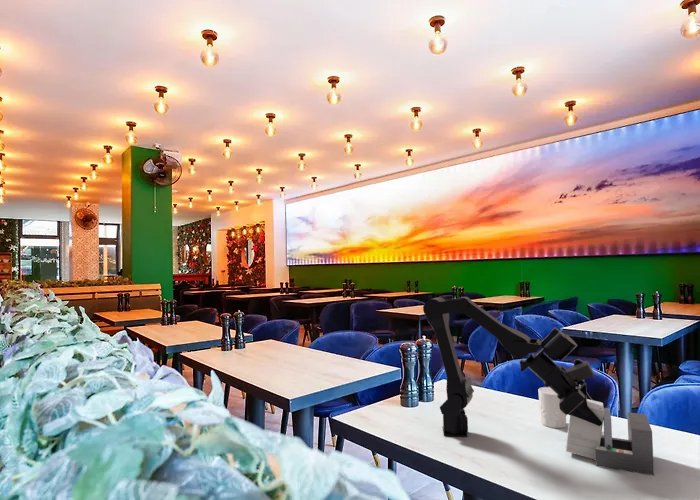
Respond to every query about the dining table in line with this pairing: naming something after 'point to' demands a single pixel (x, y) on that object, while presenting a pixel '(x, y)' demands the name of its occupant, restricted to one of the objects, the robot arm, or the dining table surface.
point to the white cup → (550, 408)
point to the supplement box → (585, 433)
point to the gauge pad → (607, 428)
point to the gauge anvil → (629, 448)
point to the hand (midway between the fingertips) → (600, 418)
